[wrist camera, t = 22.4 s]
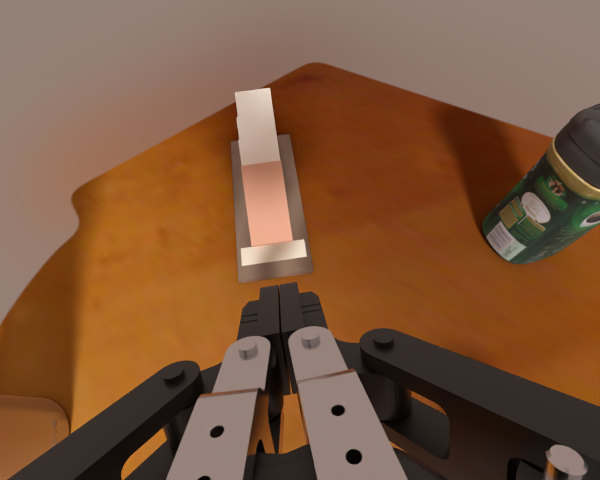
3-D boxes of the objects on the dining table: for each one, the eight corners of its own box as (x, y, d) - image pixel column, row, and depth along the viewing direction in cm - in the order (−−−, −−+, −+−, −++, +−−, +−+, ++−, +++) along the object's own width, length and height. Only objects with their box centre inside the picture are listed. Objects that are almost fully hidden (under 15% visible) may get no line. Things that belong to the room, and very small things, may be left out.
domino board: (240, 283, 40) (238, 280, 39) (232, 146, 50) (230, 141, 49) (313, 272, 40) (313, 269, 39) (290, 138, 50) (289, 133, 49)
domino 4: (292, 240, 39) (281, 160, 40) (251, 246, 39) (240, 165, 40) (292, 241, 41) (281, 164, 42) (253, 247, 41) (242, 170, 42)
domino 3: (287, 209, 41) (276, 134, 42) (248, 215, 41) (238, 139, 42) (287, 212, 43) (277, 139, 44) (250, 217, 43) (240, 144, 44)
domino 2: (283, 183, 43) (272, 112, 44) (246, 189, 43) (236, 117, 44) (284, 186, 45) (273, 117, 46) (248, 192, 45) (238, 122, 46)
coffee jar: (530, 199, 44) (662, 70, 27) (573, 248, 40) (753, 135, 24) (467, 221, 42) (564, 101, 26) (505, 274, 39) (645, 174, 22)
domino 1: (279, 156, 45) (269, 87, 46) (243, 160, 45) (234, 92, 46) (280, 159, 47) (270, 93, 48) (245, 164, 47) (236, 98, 47)
